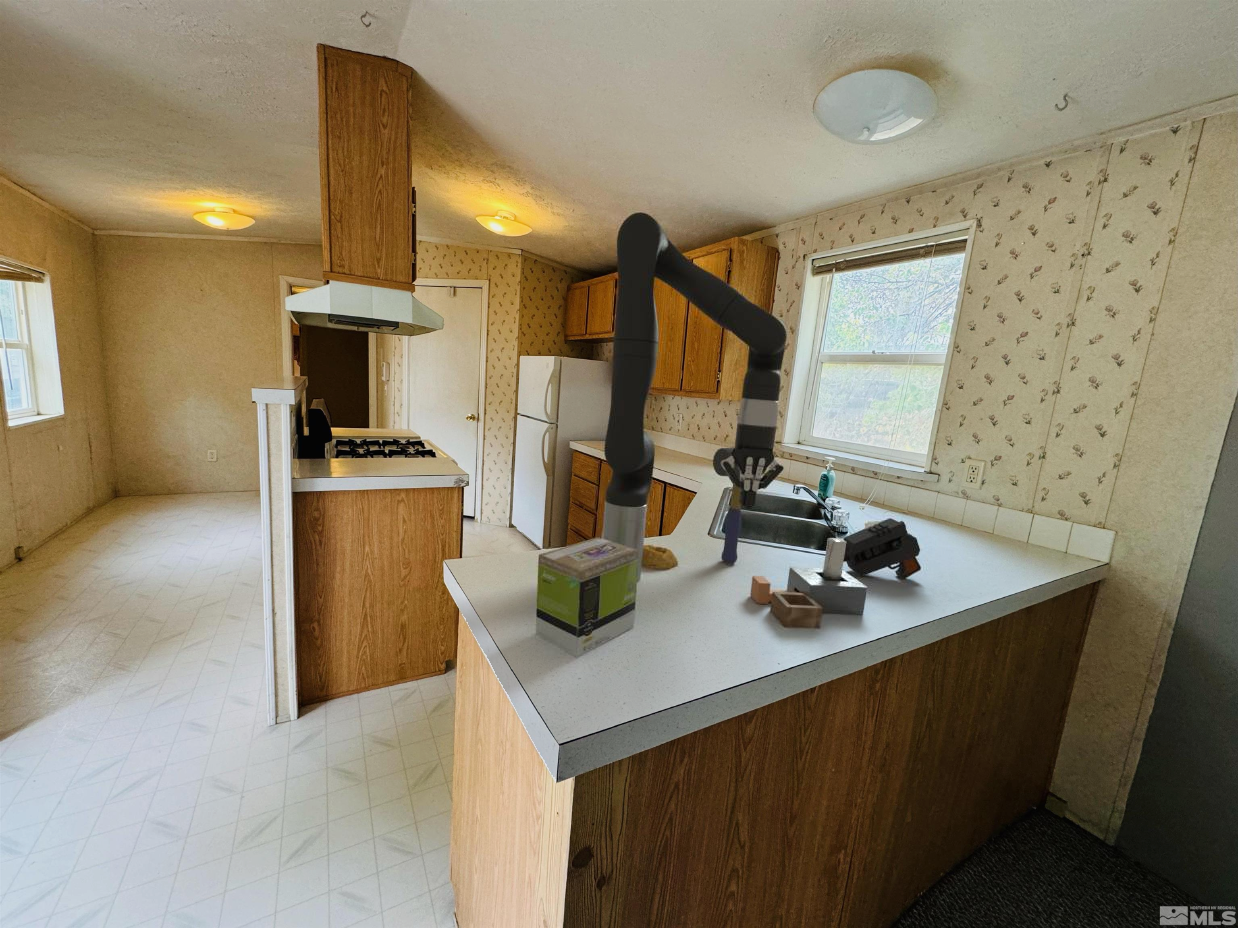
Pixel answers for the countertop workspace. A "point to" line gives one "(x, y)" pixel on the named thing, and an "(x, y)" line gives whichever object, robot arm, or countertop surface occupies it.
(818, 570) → the socket
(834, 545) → the tall gray stick
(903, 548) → the black toy pistol
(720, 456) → the rubber mallet
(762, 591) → the drift key
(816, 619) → the open wooden box
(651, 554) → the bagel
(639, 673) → the countertop surface
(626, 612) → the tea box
